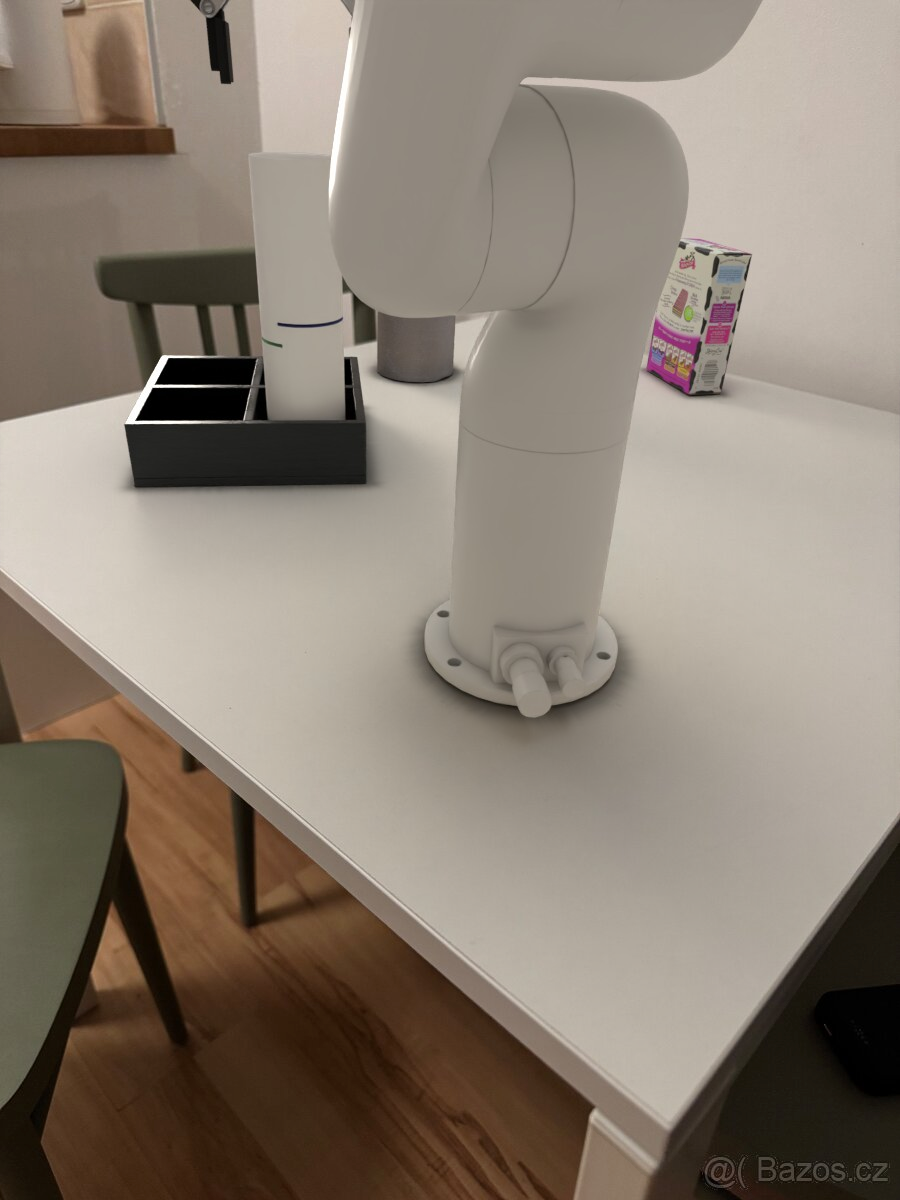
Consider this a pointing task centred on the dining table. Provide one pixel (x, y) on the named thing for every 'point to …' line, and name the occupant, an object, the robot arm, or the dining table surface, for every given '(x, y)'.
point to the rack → (237, 429)
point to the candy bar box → (698, 316)
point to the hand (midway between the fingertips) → (292, 86)
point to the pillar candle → (415, 347)
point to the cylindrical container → (298, 286)
